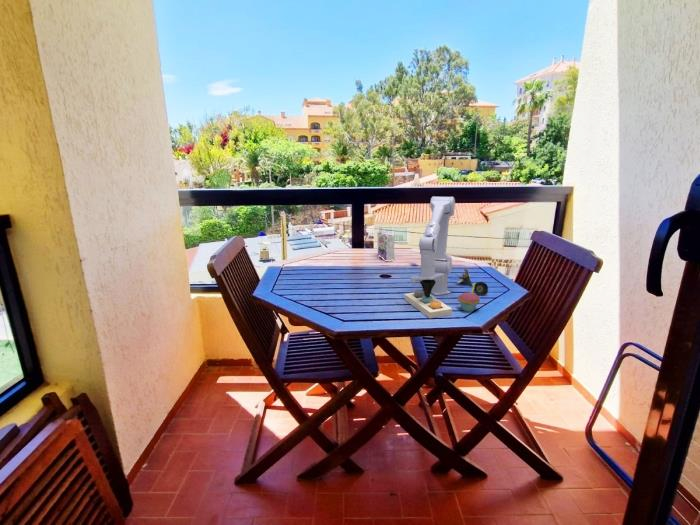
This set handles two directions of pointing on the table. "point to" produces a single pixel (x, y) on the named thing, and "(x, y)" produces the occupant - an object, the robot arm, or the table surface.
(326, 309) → the table surface
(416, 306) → the button panel
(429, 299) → the teal button
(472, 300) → the cupcake
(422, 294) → the grey button
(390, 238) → the candy box
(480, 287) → the artificial flower
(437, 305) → the orange button
